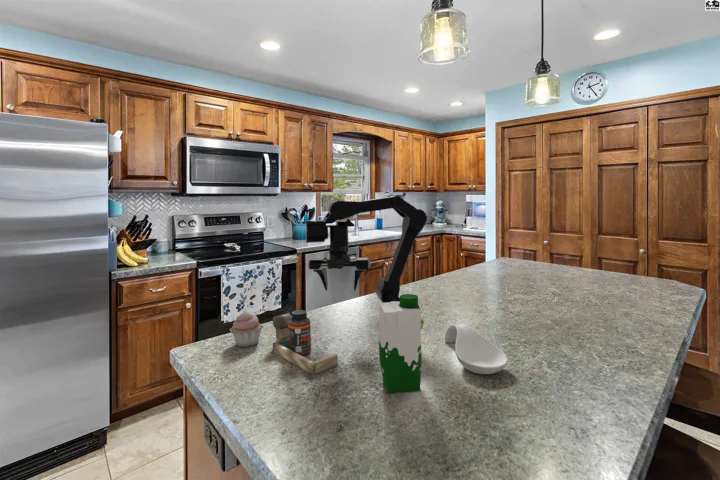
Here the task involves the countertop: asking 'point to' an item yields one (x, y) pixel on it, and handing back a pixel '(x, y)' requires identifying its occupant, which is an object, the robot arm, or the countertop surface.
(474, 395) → the countertop surface
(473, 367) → the spoon rest
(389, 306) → the milk carton
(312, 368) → the frame
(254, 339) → the cupcake
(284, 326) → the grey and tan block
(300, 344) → the supplement bottle
